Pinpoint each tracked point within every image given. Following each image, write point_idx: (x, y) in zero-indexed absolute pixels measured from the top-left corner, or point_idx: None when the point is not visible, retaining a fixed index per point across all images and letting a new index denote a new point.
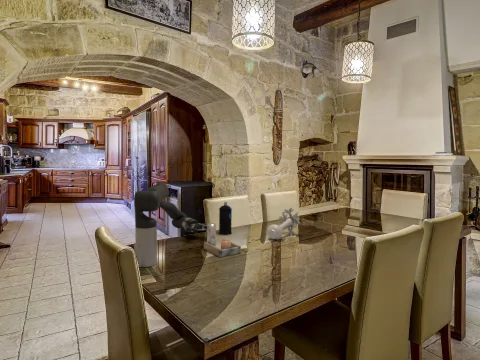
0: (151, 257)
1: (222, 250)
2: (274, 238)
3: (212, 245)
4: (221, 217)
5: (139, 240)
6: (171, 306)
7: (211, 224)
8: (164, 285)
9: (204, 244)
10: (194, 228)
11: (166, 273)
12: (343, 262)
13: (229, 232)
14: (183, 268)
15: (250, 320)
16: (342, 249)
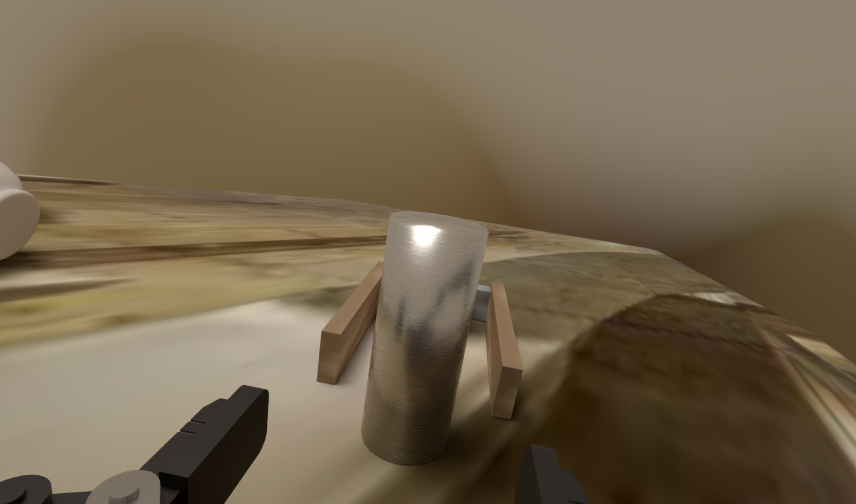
0: None
1: (485, 286)
2: (21, 247)
3: (499, 318)
4: None
5: None
6: (712, 281)
7: (449, 221)
8: (749, 316)
9: (518, 379)
10: (567, 495)
11: (765, 347)
12: (254, 197)
13: None
14: (693, 338)
15: (584, 238)
16: (115, 189)
